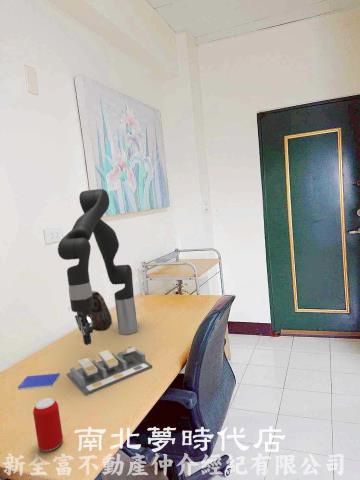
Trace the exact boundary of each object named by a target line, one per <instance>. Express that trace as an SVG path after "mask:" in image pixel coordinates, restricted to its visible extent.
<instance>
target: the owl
mask: <svg viewBox="0 0 360 480" xmlns="http://www.w3.org/2000/svg"><path fill="white" fill-rule="evenodd" d="M92 296H93V303H94V307H93V308H92V309H90V311H89V312H90V314H91V317H92V318H91V321H94V322H95V324H94V329H93V331H95V332H101V331H107V330H108V329H109V328H110V326H111V325H112V324H113V321H112V320H113V319H112V316H111V313H110V309H109V307H108V306H107V303H106V302H105V299H104V297H103V295H102V294H101V293H99V291H95V290H92Z"/></svg>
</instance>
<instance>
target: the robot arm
mask: <svg viewBox="0 0 360 480" xmlns="http://www.w3.org/2000/svg"><path fill="white" fill-rule="evenodd" d="M78 197H79V204H80V208H81V209H82V213H83V214H81V216H79V217H78V218H77V220H75V222H74V225H73V227H72V228H71V230H70V231H69V232H68V233H67V234H66V235H65V236H63V238H62V239H60V241H59V243H58V246H57V253H58V256H59V258H61V259H62V260H64V261H69V260H78V263H77V264H76V265H73V266H70V267H68V268H67V270H66V275H67V282H68V296H69V302H70V309H71V312H73V313H76V315H74V318H75V321H76V324H77V328H78V329H79V331H80V333H81V334H82V339H83V344H84V345H86V346H88V345H91V344H92V336H91V334H92V333H93V332H94V330H93V329H94V324H95V322H94V321H91V318H92V317H91V314H90V312H89V311H90V309H92V308H93V307H94V303H93V296H92V291H93V290H92V285H91V281H90V273H89V263H90V258H91V257H90V256H91V250H92V248H91V247H92V246H91V244H90V240H91V237H92V235H93V236H94V239H95V242H96V244H97V247H98V250H99V251H100V255H101V257H102V259H103V263H104V266H105V270H106V273H107V276H108V279H109V282H110V283H111V284H112V285H124V287H123V288H121V289H119V290H117V291H116V292H114V302H115V303H114V305H115V310H116V311H115V312H116V318H117V319H116V320H117V328H118V333H119V335H124V336H127V335H132V334H134V333H135V334H136V332H138V329H139V328H138V327H139V326H138V319H137V311H136V310H137V309H136V304H135V294H134V284H133V283H134V282H133V281H134V280H133V270H132V267H131V266H130V265H129V264H120V265H119V264H118V265H115V261H114V260H115V257H116V255H117V253H118V251H119V248H120V244H119V243H120V242H119V239H118V236H117V233H116V231H115V230H114V229H113V228H112V227H111V226H110V225H109V224H107V223H106V221H104V220H102V218H103V217H104V215H105V214H106V213H107V210H108V209H109V207H110V197H109V194H108V192H107V190H106V189H103V188H100V189H99V188H98V189H97V188H96V189H87V190H84V191H81V192H80V194H79V196H78Z"/></svg>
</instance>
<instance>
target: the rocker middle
mask: <svg viewBox="0 0 360 480" xmlns="http://www.w3.org/2000/svg"><path fill="white" fill-rule="evenodd" d="M98 357H99V358H100V360H101V361H103V363H105V364H106V365H107V366H108V368H111V367H114V366H116V365H118V361H117V360H116V359H115V358H114V357H113V355H112V354H111V352H110V351H109V350H108V349H106V350H103V351H100V352H98Z"/></svg>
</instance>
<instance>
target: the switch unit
mask: <svg viewBox="0 0 360 480" xmlns="http://www.w3.org/2000/svg"><path fill="white" fill-rule="evenodd" d="M131 347H132V346H128V348H131ZM135 349H136V348H135ZM110 353H111V352H110ZM111 354H112V355H113V357H114V358H115V359H116V360H117V361H118V365H116V366H114V367H111V368H108V366H107V365H106V364H105V363H103V361H102V360H100V361H96V360H95V359H92V360H90V361H91V362H92V363H93V364H94V365H95V367H96V368H97V371H98V372H97V373H94V374H92V375H89V376H87V374H86V373H85V372H84V371H83V370H82V368H81V367H80V368H78V369H76V368H74V367H70V369H69V370H70V372H67V373H66V376H67V377H68V378H69V380H71V382H72V383H73V384H74V385H75V386H76V387H77V388H78V389H79V390H80V391H81V393H83V395H85V396H89V395H92V394H93V393H95V392H98V391H100V390H102V389H105V388H107V387H110V386H112V385H115V384H117V383H120V382H121V381H122V382H123V380H127V379H129V378H132V377H134V376H136V375H138V374H141V373H143V372H146V371H148V370H151V369H152V368H153V364H151V363H149V362H147V361H146V354H145V353H144V352H143V351H140V350H138V349H136V350H135V351H133V352H132V353H130V354H128V355H125V356H123V355H121V356H119V355H118V354H115V352H112V353H111Z"/></svg>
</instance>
